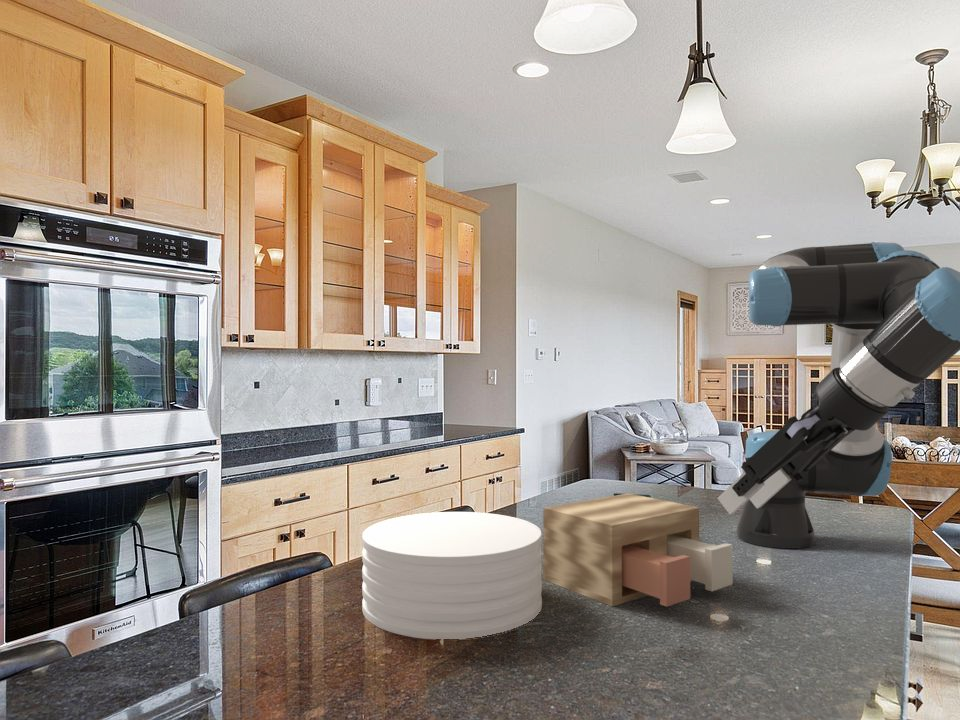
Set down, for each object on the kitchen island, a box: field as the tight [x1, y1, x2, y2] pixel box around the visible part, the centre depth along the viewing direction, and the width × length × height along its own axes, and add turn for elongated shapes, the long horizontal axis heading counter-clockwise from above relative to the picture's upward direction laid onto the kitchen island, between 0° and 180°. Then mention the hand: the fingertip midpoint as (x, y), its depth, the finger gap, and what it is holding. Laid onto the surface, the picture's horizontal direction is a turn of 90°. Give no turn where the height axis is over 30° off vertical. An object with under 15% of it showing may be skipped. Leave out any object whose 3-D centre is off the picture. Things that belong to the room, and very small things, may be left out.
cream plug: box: [667, 534, 734, 592], centre depth 112 cm, size 17×6×6 cm, turn 36°
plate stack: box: [361, 511, 543, 640], centre depth 104 cm, size 28×28×12 cm
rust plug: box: [622, 545, 691, 607], centre depth 106 cm, size 17×6×6 cm, turn 36°
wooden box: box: [542, 492, 700, 607], centre depth 115 cm, size 16×22×12 cm
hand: (739, 502), depth 91 cm, fingers open, 6 cm apart
